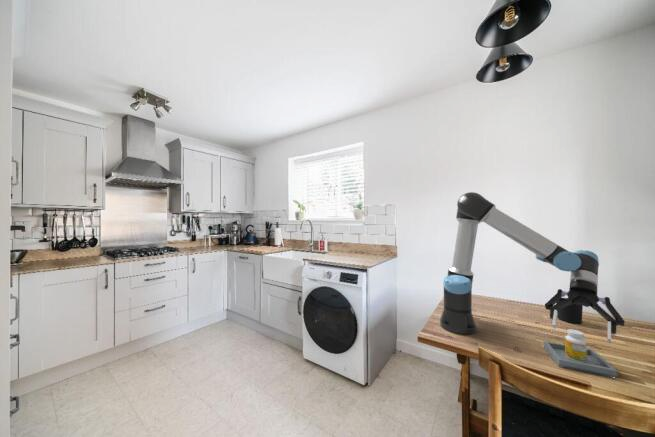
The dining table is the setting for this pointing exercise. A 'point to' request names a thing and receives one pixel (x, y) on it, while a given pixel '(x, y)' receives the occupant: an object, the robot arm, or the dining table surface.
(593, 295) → the robot arm
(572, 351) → the supplement bottle
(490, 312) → the dining table surface
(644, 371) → the dining table surface
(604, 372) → the tray
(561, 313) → the pen holder
